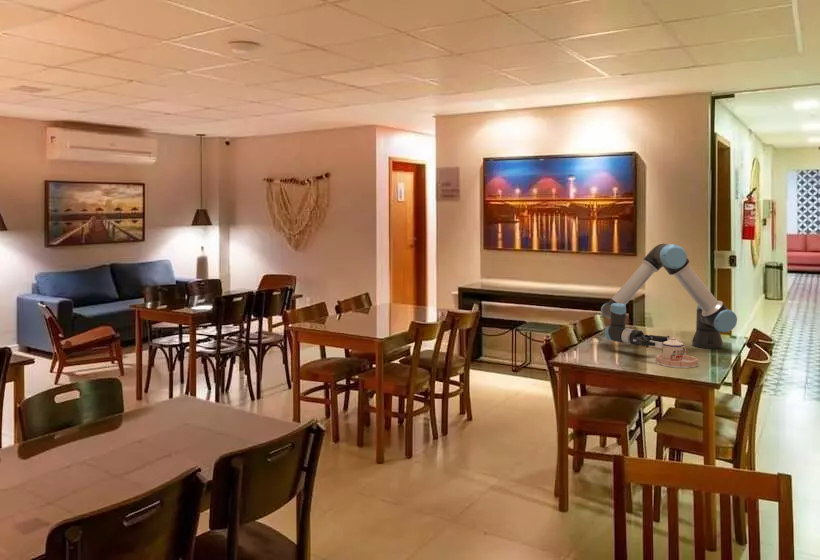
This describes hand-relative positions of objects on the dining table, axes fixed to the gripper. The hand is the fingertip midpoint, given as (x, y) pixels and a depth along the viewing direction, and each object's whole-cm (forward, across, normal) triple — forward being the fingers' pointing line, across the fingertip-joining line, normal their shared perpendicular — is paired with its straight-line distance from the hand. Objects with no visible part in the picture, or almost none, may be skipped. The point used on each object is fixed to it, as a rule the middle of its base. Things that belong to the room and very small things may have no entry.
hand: (670, 343), depth 315 cm
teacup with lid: (+3, +1, -8) cm, 9 cm away
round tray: (+3, 0, -9) cm, 9 cm away
